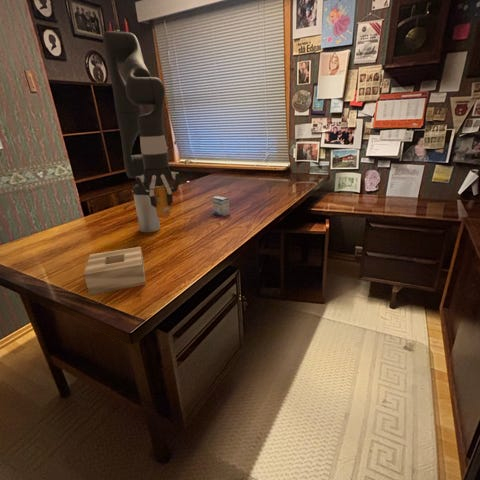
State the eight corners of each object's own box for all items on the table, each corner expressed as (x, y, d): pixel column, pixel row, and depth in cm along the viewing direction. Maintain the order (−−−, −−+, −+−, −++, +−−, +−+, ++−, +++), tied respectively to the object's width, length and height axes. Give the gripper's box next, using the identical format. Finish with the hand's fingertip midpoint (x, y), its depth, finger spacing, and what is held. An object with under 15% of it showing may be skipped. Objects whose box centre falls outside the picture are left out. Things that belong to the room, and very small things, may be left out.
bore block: (94, 273, 101) (89, 254, 98) (144, 264, 105) (140, 246, 102) (89, 295, 88) (83, 274, 85) (145, 284, 93) (141, 264, 90)
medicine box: (213, 213, 156) (211, 197, 152) (219, 211, 159) (218, 195, 155) (223, 216, 151) (222, 199, 147) (229, 214, 154) (228, 197, 150)
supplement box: (171, 215, 100) (167, 186, 96) (164, 218, 97) (160, 188, 93) (163, 214, 101) (159, 185, 97) (156, 217, 98) (152, 187, 94)
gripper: (176, 148, 96) (182, 200, 103) (129, 152, 92) (139, 205, 99) (179, 151, 89) (185, 206, 96) (129, 154, 85) (139, 212, 92)
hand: (162, 205), depth 98 cm, fingers closed on supplement box, 4 cm apart
